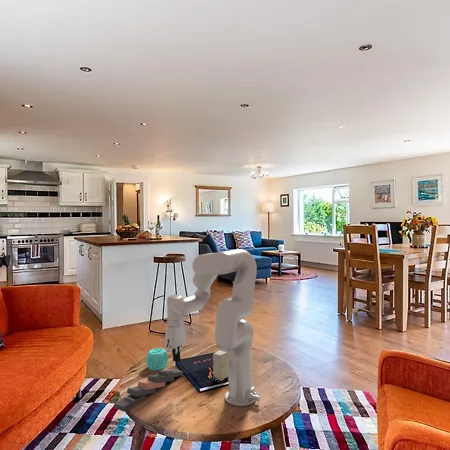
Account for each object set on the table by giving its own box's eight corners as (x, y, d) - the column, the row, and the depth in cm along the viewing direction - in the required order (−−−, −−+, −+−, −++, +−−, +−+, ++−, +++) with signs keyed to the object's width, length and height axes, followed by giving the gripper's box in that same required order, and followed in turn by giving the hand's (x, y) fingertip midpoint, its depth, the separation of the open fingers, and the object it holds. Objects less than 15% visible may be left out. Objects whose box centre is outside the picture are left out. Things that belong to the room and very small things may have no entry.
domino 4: (165, 373, 158) (148, 375, 149) (174, 376, 155) (157, 378, 146) (164, 378, 158) (147, 380, 149) (173, 381, 155) (157, 383, 146)
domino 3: (155, 379, 153) (138, 381, 144) (165, 382, 150) (148, 384, 141) (155, 383, 153) (137, 386, 144) (164, 386, 150) (147, 389, 141)
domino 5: (173, 368, 163) (158, 370, 154) (183, 371, 160) (167, 373, 151) (173, 373, 163) (157, 374, 154) (182, 375, 160) (166, 377, 151)
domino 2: (146, 384, 148) (127, 388, 139) (156, 387, 145) (137, 391, 136) (145, 389, 148) (126, 393, 139) (155, 392, 145) (136, 396, 136)
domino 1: (135, 390, 143) (114, 403, 134) (145, 394, 140) (123, 407, 131) (135, 395, 143) (114, 407, 134) (145, 398, 140) (123, 411, 131)
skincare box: (220, 382, 152) (220, 355, 152) (213, 380, 155) (212, 353, 155) (229, 377, 157) (228, 351, 157) (221, 374, 160) (221, 348, 160)
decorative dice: (146, 369, 167) (145, 353, 167) (154, 362, 175) (153, 347, 174) (160, 371, 165) (160, 355, 164) (168, 364, 172) (168, 348, 172)
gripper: (180, 316, 168) (180, 353, 169) (158, 325, 156) (159, 365, 156) (192, 318, 164) (192, 356, 165) (170, 327, 152) (171, 368, 152)
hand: (176, 360), depth 161 cm, fingers closed
